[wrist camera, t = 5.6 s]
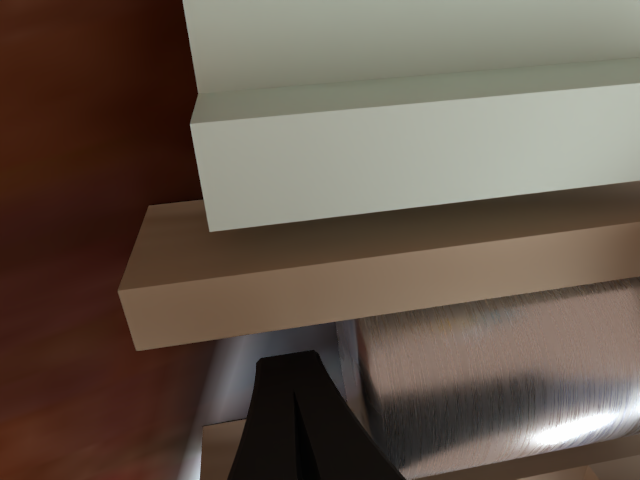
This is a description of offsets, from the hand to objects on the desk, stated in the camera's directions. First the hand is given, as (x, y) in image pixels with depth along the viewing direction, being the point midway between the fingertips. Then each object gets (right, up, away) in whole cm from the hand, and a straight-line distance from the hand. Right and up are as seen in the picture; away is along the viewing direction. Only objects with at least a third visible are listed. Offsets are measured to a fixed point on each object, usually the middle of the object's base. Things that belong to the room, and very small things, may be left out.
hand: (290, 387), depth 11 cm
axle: (+8, +2, +3) cm, 9 cm away
